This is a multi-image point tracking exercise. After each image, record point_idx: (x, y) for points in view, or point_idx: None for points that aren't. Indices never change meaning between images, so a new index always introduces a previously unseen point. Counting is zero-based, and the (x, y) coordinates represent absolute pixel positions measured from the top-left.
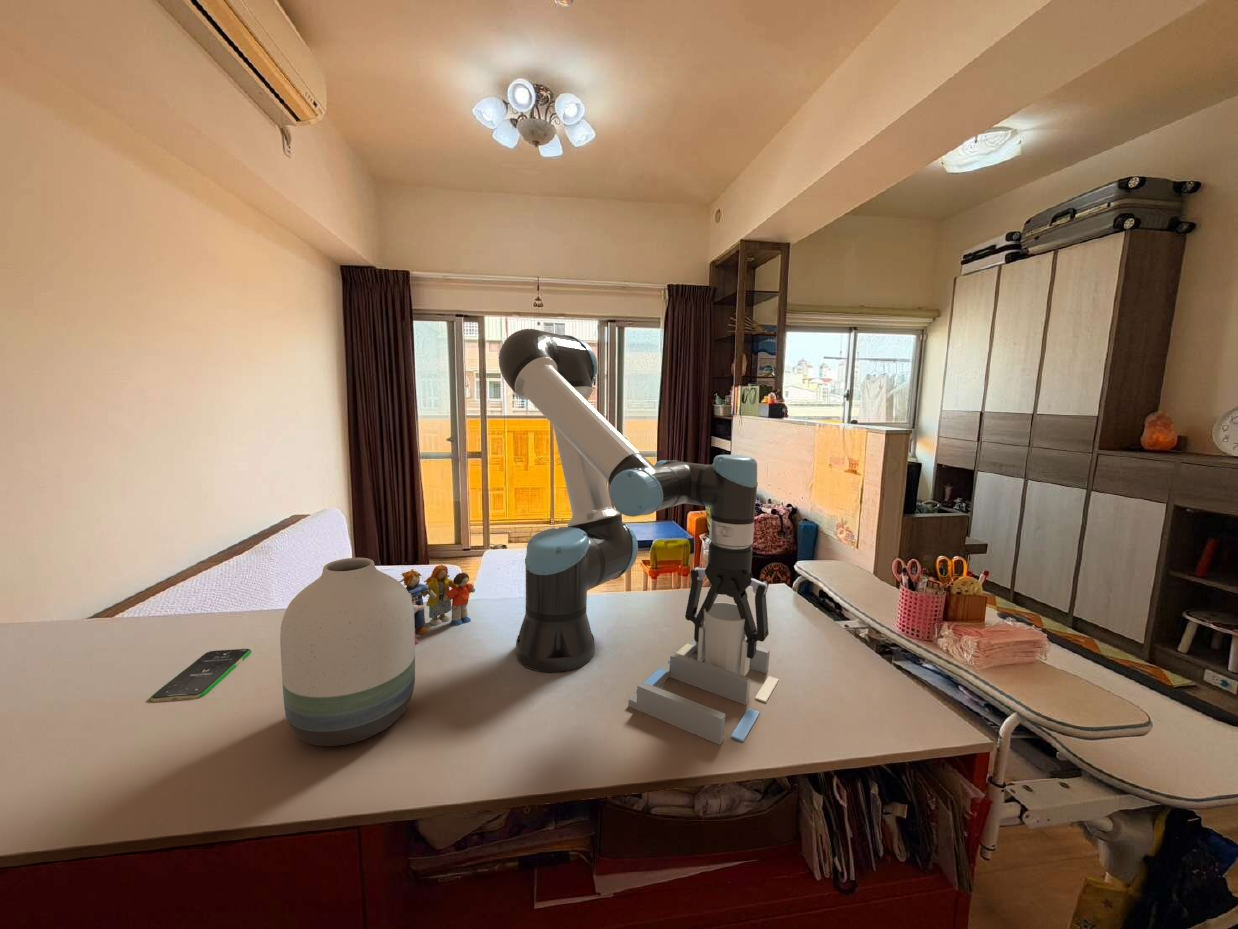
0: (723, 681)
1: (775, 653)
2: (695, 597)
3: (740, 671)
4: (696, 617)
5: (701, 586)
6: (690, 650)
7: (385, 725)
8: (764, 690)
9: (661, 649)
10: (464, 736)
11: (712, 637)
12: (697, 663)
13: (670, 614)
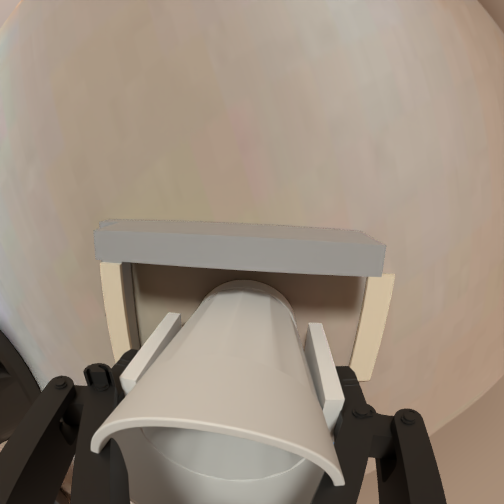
0: None
1: (357, 108)
2: (55, 492)
3: None
4: None
5: (15, 494)
6: (124, 286)
7: (65, 500)
8: (364, 346)
9: (69, 286)
10: None
11: (206, 459)
12: None
13: (23, 92)
